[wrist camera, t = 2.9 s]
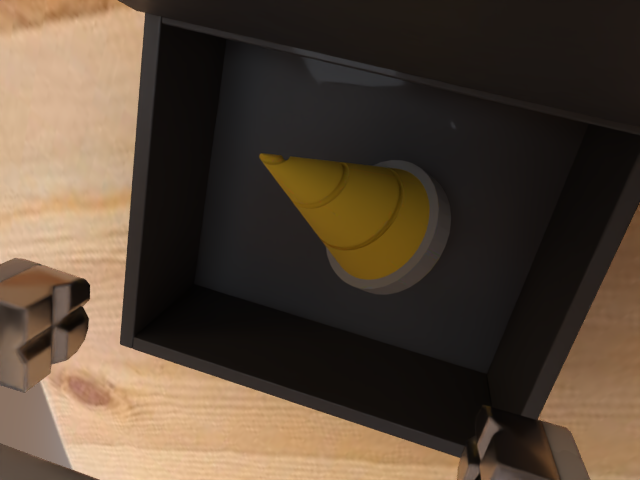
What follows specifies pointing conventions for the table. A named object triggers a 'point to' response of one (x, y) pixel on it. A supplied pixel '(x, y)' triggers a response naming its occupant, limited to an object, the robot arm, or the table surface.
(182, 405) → the table surface
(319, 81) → the chest
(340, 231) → the drill bit
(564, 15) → the lid
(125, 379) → the table surface
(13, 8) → the table surface
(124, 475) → the table surface
